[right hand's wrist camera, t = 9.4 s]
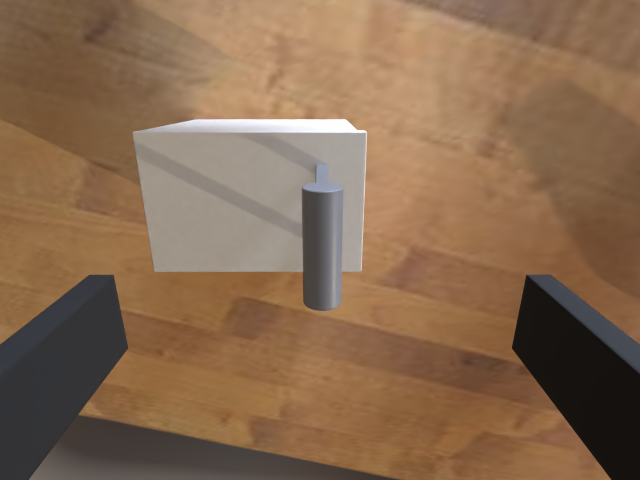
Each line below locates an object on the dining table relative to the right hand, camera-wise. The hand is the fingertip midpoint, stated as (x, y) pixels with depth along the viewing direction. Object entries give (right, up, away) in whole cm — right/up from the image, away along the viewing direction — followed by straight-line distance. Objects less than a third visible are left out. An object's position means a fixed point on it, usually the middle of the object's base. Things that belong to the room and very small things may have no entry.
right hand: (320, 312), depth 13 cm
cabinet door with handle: (-4, +5, +13) cm, 15 cm away
